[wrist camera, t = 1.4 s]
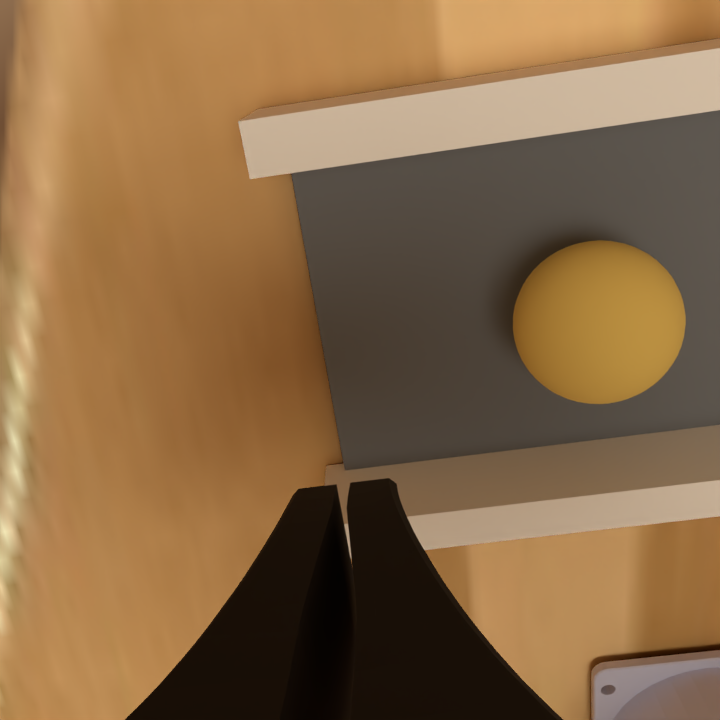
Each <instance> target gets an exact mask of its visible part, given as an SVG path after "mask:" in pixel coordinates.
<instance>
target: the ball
mask: <svg viewBox="0 0 720 720" xmlns="http://www.w3.org/2000/svg"><path fill="white" fill-rule="evenodd" d="M685 325H686V316H685V309H684V303H683V299H682V296H681V293H680V291H679V289H678V287H677V285H676V283H675V281H674V279H673V278H672V276H671V275H670V274H669V272H668V271H667V270H666V269H665V268H664V267H663V266H662V265H661V264H660V263H659V262H658V261H657V260H656V259H654V258H653V257H652V256H650V255H649V254H647V253H645V252H643V251H642V250H640V249H638V248H636V247H633V246H630V245H627V244H624V243H619V242H614V241H603V240H597V241H587V242H582V243H578V244H574V245H571V246H568V247H565V248H563V249H561V250H559V251H557V252H555V253H554V254H552V255H550V256H549V257H548V258H546V259H545V260H544V261H542V262H541V263H540V264H539V265H538V266H537V267H536V268H535V269H534V270H533V271H532V273H531V274H530V275H529V276H528V278H527V279H526V281H525V283H524V284H523V286H522V288H521V290H520V292H519V295H518V297H517V300H516V304H515V307H514V313H513V334H514V340H515V344H516V347H517V350H518V353H519V355H520V357H521V359H522V361H523V363H524V364H525V366H526V368H527V369H528V370H529V372H530V373H531V374H532V375H533V376H534V378H535V379H536V380H537V381H539V382H540V383H541V384H542V385H543V386H545V387H546V388H547V389H549V390H550V391H552V392H554V393H555V394H557V395H560V396H562V397H564V398H567V399H569V400H573V401H576V402H581V403H588V404H609V403H614V402H619V401H623V400H626V399H629V398H631V397H634V396H636V395H638V394H640V393H642V392H644V391H646V390H647V389H648V388H650V387H651V386H653V385H654V384H655V383H656V382H658V381H659V380H660V379H661V378H662V377H663V376H664V375H665V373H666V372H667V371H668V370H669V368H670V367H671V366H672V364H673V363H674V361H675V359H676V357H677V356H678V353H679V351H680V349H681V346H682V342H683V339H684V333H685Z"/></svg>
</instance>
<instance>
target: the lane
mask: <svg viewBox="0 0 720 720" xmlns="http://www.w3.org/2000/svg"><path fill="white" fill-rule="evenodd" d="M238 123H239V128H240V133H241V138H242V143H243V147H244V152H245V157H246V162H247V167H248V172H249V177H250V179H255V178H262V177H269V176H275V175H282V174H289V173H291V175H292V180H293V186H294V191H295V197H296V202H297V208H298V213H299V219H300V224H301V230H302V236H303V241H304V247H305V252H306V258H307V263H308V269H309V274H310V280H311V285H312V291H313V296H314V302H315V308H316V313H317V319H318V324H319V330H320V335H321V341H322V346H323V352H324V357H325V363H326V369H327V374H328V380H329V385H330V391H331V396H332V402H333V407H334V413H335V418H336V424H337V429H338V435H339V441H340V446H341V452H342V457H343V464H335V465H327V466H326V474H325V486H327V485H335V484H337V489H338V494H339V500H340V505H341V510H342V516H343V521H344V526H345V532H346V537H347V542H348V547H349V553H350V558H352V557H351V548H350V538H349V528H348V519H347V500H348V492H349V487H350V483H352V482H360V481H368V480H376V479H385V478H390V479H391V480H392V481H394V482H395V483H397V489H398V494H399V498H400V501H401V504H402V506H403V509H404V511H405V514H406V516H407V518H408V520H409V522H410V524H411V527H412V529H413V531H414V533H415V535H416V536H417V538H418V540H419V542H420V544H421V545H422V547H423V549H424V550H430V549H438V548H447V547H456V546H465V545H473V544H482V543H491V542H499V541H508V540H517V539H526V538H534V537H543V536H552V535H561V534H569V533H578V532H587V531H596V530H604V529H613V528H622V527H631V526H639V525H648V524H657V523H666V522H674V521H683V520H692V519H700V518H709V517H718V516H720V38H719V39H712V40H706V41H699V42H693V43H686V44H680V45H673V46H667V47H660V48H654V49H647V50H641V51H634V52H628V53H621V54H614V55H608V56H601V57H595V58H588V59H582V60H575V61H569V62H562V63H556V64H549V65H543V66H536V67H530V68H523V69H516V70H510V71H503V72H497V73H490V74H484V75H477V76H471V77H464V78H458V79H451V80H445V81H438V82H431V83H425V84H418V85H412V86H405V87H399V88H392V89H386V90H379V91H373V92H366V93H360V94H353V95H347V96H340V97H333V98H327V99H320V100H314V101H307V102H301V103H294V104H288V105H281V106H275V107H268V108H262V109H257V110H255V111H254V112H252V113H250V114H249V115H247V116H246V117H244V118H243V119H241V120H240V121H238ZM597 240H603V241H614V242H619V243H624V244H627V245H630V246H633V247H636V248H638V249H640V250H642V251H643V252H645V253H647V254H649V255H650V256H652V257H653V258H654V259H656V260H657V261H658V262H659V263H660V264H661V265H662V266H663V267H664V268H665V269H666V270H667V271H668V272H669V274H670V275H671V276H672V278H673V279H674V281H675V283H676V285H677V287H678V289H679V291H680V293H681V296H682V299H683V303H684V309H685V316H686V325H685V333H684V339H683V342H682V346H681V349H680V351H679V353H678V356H677V357H676V359H675V361H674V363H673V364H672V366H671V367H670V368H669V370H668V371H667V372H666V373H665V375H664V376H663V377H662V378H661V379H660V380H659V381H658V382H656V383H655V384H654V385H653V386H651V387H650V388H648V389H647V390H646V391H644V392H642V393H640V394H638V395H636V396H634V397H631V398H629V399H626V400H623V401H619V402H614V403H609V404H588V403H581V402H576V401H573V400H569V399H567V398H564V397H562V396H560V395H557V394H555V393H554V392H552V391H550V390H549V389H547V388H546V387H545V386H543V385H542V384H541V383H540V382H539V381H537V380H536V379H535V378H534V376H533V375H532V374H531V373H530V372H529V370H528V369H527V368H526V366H525V364H524V363H523V361H522V359H521V357H520V355H519V353H518V350H517V347H516V344H515V340H514V334H513V313H514V307H515V304H516V300H517V297H518V295H519V292H520V290H521V288H522V286H523V284H524V283H525V281H526V279H527V278H528V276H529V275H530V274H531V273H532V271H533V270H534V269H535V268H536V267H537V266H538V265H539V264H540V263H541V262H542V261H544V260H545V259H546V258H548V257H549V256H550V255H552V254H554V253H555V252H557V251H559V250H561V249H563V248H565V247H568V246H571V245H574V244H578V243H582V242H587V241H597Z"/></svg>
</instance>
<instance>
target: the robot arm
mask: <svg viewBox="0 0 720 720" xmlns="http://www.w3.org/2000/svg"><path fill="white" fill-rule="evenodd" d="M347 519H348V528H349V538H350V548H351V557H352V563H351V558H350V553H349V547H348V542H347V537H346V532H345V526H344V521H343V516H342V510H341V505H340V500H339V494H338V489H337V484H335V485H327V486H319V487H310V488H302V489H298V490H297V491H296V493H295V494H294V495H293V496H292V498H291V500H290V502H289V504H288V505H287V507H286V509H285V511H284V513H283V514H282V516H281V518H280V520H279V522H278V523H277V525H276V527H275V528H274V530H273V532H272V533H271V535H270V537H269V538H268V540H267V542H266V543H265V545H264V547H263V548H262V550H261V551H260V553H259V555H258V556H257V558H256V559H255V561H254V562H253V564H252V565H251V567H250V568H249V570H248V572H247V573H246V575H245V576H244V578H243V579H242V581H241V582H240V584H239V585H238V587H237V588H236V589H235V591H234V592H233V594H232V595H231V596H230V598H229V599H228V600H227V602H226V603H225V604H224V606H223V607H222V609H221V610H220V611H219V613H218V614H217V615H216V617H215V618H214V619H213V621H212V622H211V624H210V625H209V626H208V628H207V629H206V630H205V631H204V633H203V634H202V635H201V636H200V638H199V639H198V640H197V641H196V643H195V644H194V645H193V646H192V648H191V649H190V650H189V651H188V652H187V654H186V655H185V656H184V657H183V658H182V660H181V661H180V662H179V663H178V664H177V665H176V666H175V668H174V669H173V670H172V671H171V672H170V673H169V674H168V676H167V677H166V678H165V679H164V680H163V681H162V682H161V683H160V685H159V686H158V687H157V688H156V689H155V690H154V691H153V692H152V693H151V694H150V695H149V696H148V697H147V698H146V699H145V700H144V701H143V702H142V703H141V704H140V705H139V706H138V707H137V708H136V709H135V710H134V711H133V712H132V713H131V714H130V715H129V716H128V717H127V718H126V719H125V720H563V719H562V718H561V717H560V716H559V715H558V714H556V713H555V712H554V711H553V710H552V709H551V708H550V707H549V706H548V705H547V704H546V703H545V702H544V701H543V700H542V699H541V698H540V697H539V696H538V695H537V694H536V693H535V692H534V691H533V690H532V689H531V688H530V687H529V686H528V685H527V684H526V683H525V682H524V681H523V680H522V679H521V678H520V677H519V676H518V675H517V673H516V672H515V671H514V670H513V669H512V668H511V667H510V666H509V665H508V663H507V662H506V661H505V660H504V659H503V658H502V657H501V656H500V654H499V653H498V652H497V651H496V650H495V649H494V648H493V646H492V645H491V644H490V643H489V642H488V640H487V639H486V638H485V637H484V635H483V634H482V633H481V632H480V631H479V629H478V628H477V627H476V626H475V624H474V623H473V622H472V621H471V619H470V618H469V617H468V615H467V614H466V613H465V611H464V610H463V609H462V607H461V606H460V605H459V603H458V602H457V600H456V599H455V597H454V596H453V595H452V593H451V592H450V590H449V589H448V587H447V586H446V584H445V583H444V582H443V580H442V578H441V577H440V575H439V574H438V572H437V571H436V569H435V568H434V566H433V564H432V562H431V561H430V559H429V557H428V556H427V554H426V552H425V551H424V549H423V547H422V545H421V544H420V542H419V540H418V538H417V536H416V535H415V533H414V531H413V529H412V527H411V524H410V522H409V520H408V518H407V516H406V514H405V511H404V509H403V506H402V504H401V501H400V498H399V494H398V489H397V483H395V482H394V481H392V480H391V479H390V478H385V479H376V480H368V481H360V482H352V483H350V487H349V492H348V500H347ZM352 567H353V569H352ZM591 720H720V650H714V651H705V652H695V653H685V654H676V655H666V656H656V657H647V658H637V659H627V660H618V661H608V662H602V663H599V664H597V665H596V666H595V667H594V668H593V669H592V672H591Z"/></svg>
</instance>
